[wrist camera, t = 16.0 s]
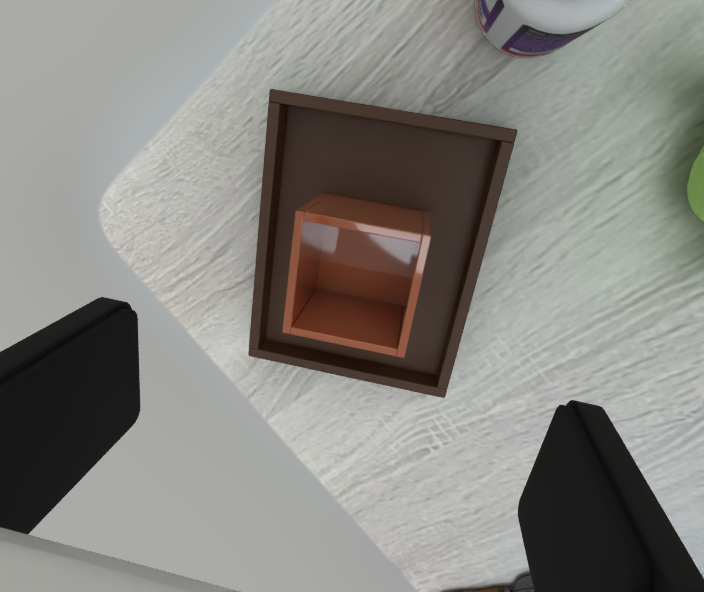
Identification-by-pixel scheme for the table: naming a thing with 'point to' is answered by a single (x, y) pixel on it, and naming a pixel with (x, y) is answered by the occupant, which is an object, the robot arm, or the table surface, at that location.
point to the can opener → (522, 588)
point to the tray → (385, 187)
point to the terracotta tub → (356, 272)
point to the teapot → (697, 186)
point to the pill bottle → (540, 23)
